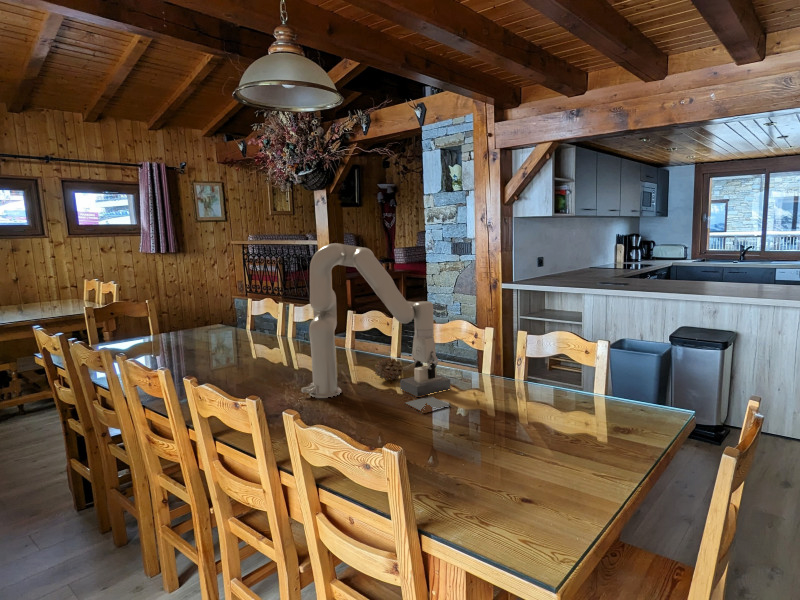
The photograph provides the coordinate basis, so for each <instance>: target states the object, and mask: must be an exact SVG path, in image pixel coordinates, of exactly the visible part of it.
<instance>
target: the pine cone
mask: <svg viewBox="0 0 800 600" xmlns="http://www.w3.org/2000/svg"><path fill="white" fill-rule="evenodd" d="M374 367H375V368H374V370H375V375H376V377H377V376H378V377H379V378H380V379H381V380H384V381H388V380H390V379H391V380H392V381H393V380H394V379H395V380H396V379H398V378H400V377H402V376H403V371H405V370H408V369H411V368H415V364H414V362H413V363H411V364H409V365H406V366H404V365H403V364H401V362H400V360H397V359H395V358H391V357H386V358H385V357H384V358H382V359H380V360H377V364H375V365H374ZM391 380H390V381H391Z"/></svg>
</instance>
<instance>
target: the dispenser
mask: <svg viewBox="0 0 800 600" xmlns="http://www.w3.org/2000/svg"><path fill="white" fill-rule="evenodd" d="M399 382H400V384H399V385H400V390H401V389H402V390H404V391H406V392H409V393H411V394H413V395H415V396H417V397H418V396H422V395H426V394H430V393H434V392H439V391H443V390H448V389H450V390H451V378H448V377H445V376H443V375H440V374H437V373H436V379H432V380H427V381H423V382H419V383H418V382H415V381H414V376H410V377H406V378H401V379H399Z"/></svg>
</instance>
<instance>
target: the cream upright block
mask: <svg viewBox="0 0 800 600" xmlns="http://www.w3.org/2000/svg"><path fill="white" fill-rule="evenodd" d="M413 369H414V370H413V373H414V375H413V377H414V381H415V382H418V383H419V382H423V381H427V380H432V379H436V374H437V372H436V371H437V367H436V368H435V378H432V379H428V369H429V367H428V365H422V367H418V368H415V367H413Z"/></svg>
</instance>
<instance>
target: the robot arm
mask: <svg viewBox="0 0 800 600" xmlns="http://www.w3.org/2000/svg"><path fill="white" fill-rule="evenodd" d="M338 265H339V266H344V267H352V268H356V270H357V272H358V273H359V274H360V276H362V277H363V278H364V280H365V281H366V282H367V283H368V285H369V286H370V287H371V289H372V290H373V292H374V293H375V294H376V296H377V297H378V298H379V299H380V300H381V302H382V303H383V304H384V307H386V309H387V310H388V311H389V312H390V314H391V315H392V316H393V317H394V319H395V320H396V321H397V322H399V323H400V324H409V323H411V322H412V321H413V320H414V335H413V341H412V351H411V356H412V359H413V360H414V361H413V363H414V364H415V366H414V368H418V367H423V364H427V365H428V367H429V369H428V379H432V378H435V368H436V369H437V366H438V364H439V361H440V360H439V359H438V357H437V355H436V341H435V338H434V334H435V333H434V332H435V331H434V330H435V329H434V304H433V302H431V301H425V300H422V301H421V300H420V301H409V300H406V298H405V297H404V296H403V294H402V293H401V292H400V290H399V289H398V287H397V285H396V284H395V281H394V280H393V278H392V276H391V275H390V274H389V273H388V272H387V271H388V270H386V268H384V266H383V265H382V264H381V262H380V261H379V260H378V259H377V257H376V256H375V254H374V252H373V251H372V250H371V249H370V248H368V247H365V246H364V247H362V246H356V245H355V246H354V245H350V244H343V243H340V242H339V243H338V242H337V243H336V242H334V243H329V244H326V245H324V246H323V247H321V248H320V249H318V250H317V251H316V252H315V253H314V254H313V256H312V258H311V260H310V263H309V305H310V306H311V308H312V310H313V312H312V313H313V319H312V320H311V321H310V324H309V327H308V328H309V329H308V335H309V341H310V342H309V343H310V355H311V371H312V373H311V374H312V382H310V385H308V386H304V387H301V389H300V392H301V393H307V394H309V396H310V397H311V396H312V398H314V397H315V398H314V399H329V398H328V397H331V398H334V397H333V396H335V397H338V396H340V393H341V394H342V388H340V387H339V386H338V374H337V373H338V372H337V370H338V369H337V352H336V343H335V342H336V338H335V330H336V328H337V325H338V321H337V320H338V316H337V313H338V312H337V295H336V292H335V290H333V275H332V272H333V271H332V270H333V268H334V267H335V266H338ZM427 365H426V366H427ZM337 395H338V396H337Z"/></svg>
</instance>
